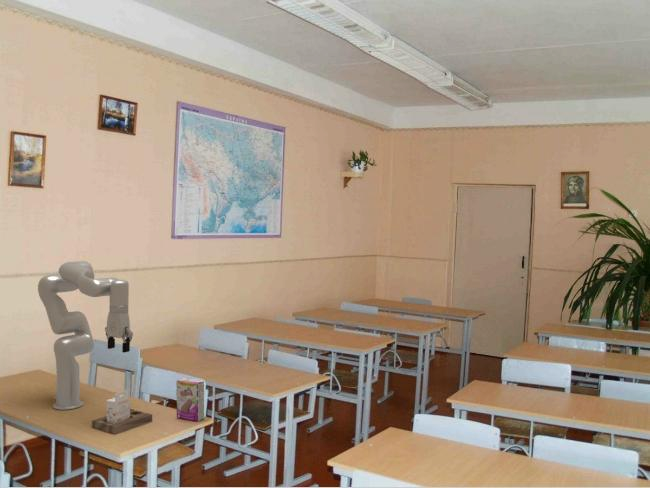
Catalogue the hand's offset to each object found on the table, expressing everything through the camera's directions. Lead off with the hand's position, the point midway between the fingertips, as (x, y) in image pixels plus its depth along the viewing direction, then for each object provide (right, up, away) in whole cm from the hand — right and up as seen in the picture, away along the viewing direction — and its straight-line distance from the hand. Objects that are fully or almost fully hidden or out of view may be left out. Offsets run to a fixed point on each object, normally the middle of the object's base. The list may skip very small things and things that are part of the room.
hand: (118, 350), depth 267 cm
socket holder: (+3, -30, -5) cm, 30 cm away
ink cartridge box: (+2, -30, -7) cm, 31 cm away
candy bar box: (+29, -30, +3) cm, 42 cm away
